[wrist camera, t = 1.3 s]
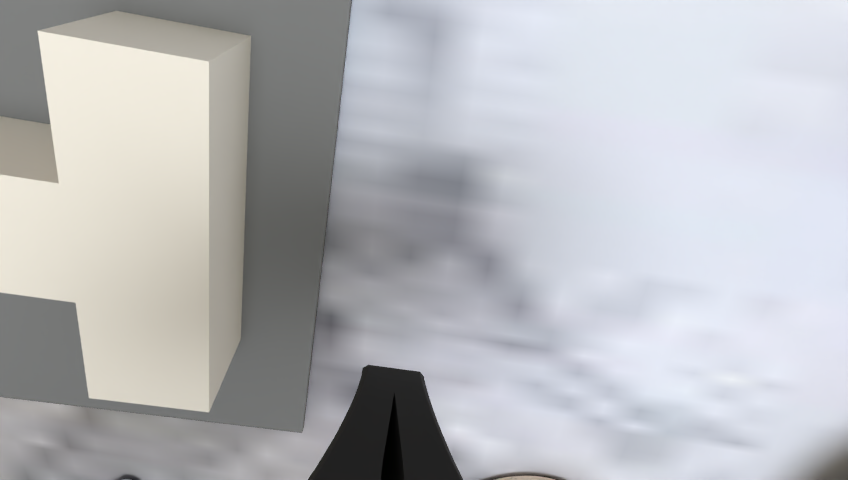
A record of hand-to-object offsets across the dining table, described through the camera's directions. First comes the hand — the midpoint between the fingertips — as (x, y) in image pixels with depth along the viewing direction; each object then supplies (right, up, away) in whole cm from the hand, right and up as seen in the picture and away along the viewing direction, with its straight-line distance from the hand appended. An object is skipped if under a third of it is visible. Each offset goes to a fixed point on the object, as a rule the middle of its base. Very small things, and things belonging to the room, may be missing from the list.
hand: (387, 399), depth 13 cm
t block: (-11, +6, +6) cm, 14 cm away
